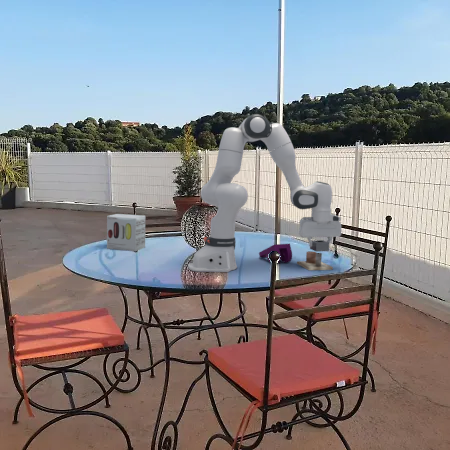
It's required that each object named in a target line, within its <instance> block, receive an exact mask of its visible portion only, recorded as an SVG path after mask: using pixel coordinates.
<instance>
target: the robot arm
mask: <svg viewBox="0 0 450 450" xmlns="http://www.w3.org/2000/svg"><path fill="white" fill-rule="evenodd" d="M257 141H262V142H263V143H264V144H265V146H266V147H267V150H268V153H269V155H270V157H271V158H272V159H271V160H272V161H273V163H274V164H275V165H276V166H277V168H279V169H280V171H281V172H282V174H283V175H284V177H285V180H286V183H287V185H288V187H289V191H290V196H289V197H290V203H291V204H292V205H293V206H294V207H295V208H297V209H298V210H307V209H311V216H303V217H301V218H300V219H299V229H298V235H299V236H300V237H302V238H306V239H307V241H308V243H309V248H310V247H314V243H313V242H312V241H311V240H313V238H327V240H326V242H329V246H330V243H331V241H332V240H333V237H334V238H337V237H338V238H339V237H341V236H342V222H341V220H342V217H340V216H339V215H335V214H334V213H332V208H331V205H332V202H333V190H332V189H333V188H332V186H331V185H330V184H329V183H327V182H324V181H323V182H322V181H314V182H313V183H312V184H310V185H308V186H304V184H303V183H302V180H301V177H300V175H299V173H298V170H297V168H296V166H297V165H296V158H297V156H296V153H295V149H294V145H293V143H292V140H291V138H290V136H289V134H288V133H287V131H286V129H285V128H284V127H283V125H282V124H281V123H278V122H273V123H272V122H271V121H269V120H268V118H266V117H264V116H263V115H262V114H258V113H254V114H250V115H249V116H248V117H246V118H245V119H243V121H242V122H241V123H240V125H239V126H238V127H235V126H234V127H227V128H226V129H225V130H224V131H223V133H222V136H221V139H220V143H219V146H218V152H217V158H216V164H215V167H214V170H213V172H212V174H211V175H210V176H211V177H210V178H209V179H208V181H207V183H205V184H204V185H203V186H202V188H201V191H200V198H201V200H202V201H203V202H204V203H206V204H208V205H209V206H214V207H218V208H217V212H216V214H215V216H213V217H212V218H211V220H210V235H209V236H204V237H203V241H204V242H205V245H204V246H203V247H201V248H200V249H198V250H197V251H196V252H194V254H193V258H192V262H190V263H188V264H187V268H188V270H190V271H191V272H192V271H193V272H199V273H200V272H208V273H211V272H213V273H214V272H215V273H228V272H231V271H234V270H236V269H238V266H237V262H236V255H235V254H236V253H235V250H236V245H237V244H236V241H237V240H236V236H235V234H236V232H235V231H236V221H237V217H238V214H239V212H240V210H241V209H242V208H243V207H244V206H245V205H246V204H247V202H248V196H249V195H248V190H247V189H246V187H245V186H242V185H241V184H238V183H234V182H232V180H233V179H234V178H235V177H236V176H237V175H238V174H239V172H240V171H241V167H242V162H243V154H244V149H245V146H246V144H250V143H251V144H252V143H255V142H257Z"/></svg>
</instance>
